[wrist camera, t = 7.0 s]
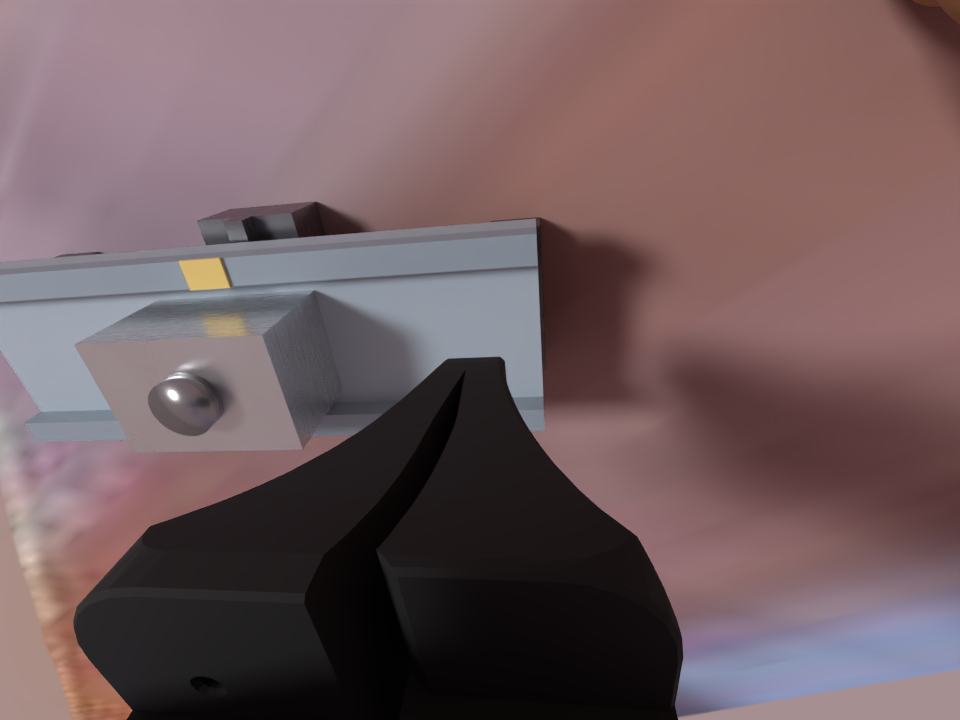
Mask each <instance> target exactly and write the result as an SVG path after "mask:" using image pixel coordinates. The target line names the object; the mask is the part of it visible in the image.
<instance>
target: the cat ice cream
mask: <svg viewBox="0 0 960 720" xmlns="http://www.w3.org/2000/svg"><path fill="white" fill-rule="evenodd" d="M912 1H913V2H916V3H918V4H921V5H925V6H932V7H941V8H942V9H943V10H944V12H945V13H946V14H947V15H949V16H950V17H951V18H952V19H953V20H954V21H956V22H957V23H958V24H960V0H912Z"/></svg>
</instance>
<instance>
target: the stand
mask: <svg viewBox="0 0 960 720" xmlns="http://www.w3.org/2000/svg"><path fill="white" fill-rule="evenodd" d="M526 219H536V233H537V257H538V281H539V304H540V328H541V352H542V368H546V363H545V332H544V306H543V280H542V253H541V227H540V217H539V218H526ZM513 220H525V219H513ZM501 221H512V220H501ZM197 222H198V225H199V228H200V230H201V233H202V235H203V238H204V241H205V243H206V245H217V244H229V243H242V242H254V241H266V240H278V239H291V238H303V237H315V236H325V235H324V231H323V227H322V223H321V219H320V216H319V212H318V208H317V204H316V202H307V203H296V204H285V205H274V206H263V207H251V208H240V209H230V210H227V211H224V212H221V213H218V214H215V215H213V216H210V217H207V218H204V219H201V220H198V221H197ZM491 222H500V221H491ZM94 254H99V252H92V253H79V254H66V255H60V256H57V257H69V256H81V255H94ZM57 257H54V258H57Z"/></svg>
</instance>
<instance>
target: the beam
mask: <svg viewBox="0 0 960 720" xmlns="http://www.w3.org/2000/svg"><path fill="white" fill-rule="evenodd" d="M303 290H315V293H316V297H317V300H318V304H319V307H320V311H321V314H322V318H323V321H324V325H325V329H326V332H327V336H328V339H329V343H330V346H331V350H332V353H333V357H334V360H335V364H336V367H337V371H338V375H339V378H340V382H341V385H342V389H343V390H342V391H341V393H340V394H339V396H338V397H337V399H336V400H335V402H334V403H333V405H332V406H331V408H330V409H329V411H328V412H327V414H326V415H325V417H324V418H323V420H322V421H321V423H320V425H319V426H318V428H317V429H316V431H315V432H314V434H313V435H312V436H332V435H355V434H356V433H358V432H359V431H361V430H362V429H364V428H365V427H367V426H368V425H369V424H371V423H372V422H373V421H375V420H376V419H377V418H379V417H380V416H381V415H382V414H384V413H385V412H386V411H387V410H389V409H390V408H391V407H393V406H394V405H395V404H396V403H398V402H399V401H400V400H401V399H403V398H404V397H405V396H406V395H407V394H408V393H409V392H411V391H412V390H413V389H414V388H415V387H416V386H417V385H419V384H420V383H421V382H422V381H423V380H424V379H425V378H426V377H427V376H428V375H430V374H431V373H432V372H433V371H434V370H435V369H436V368H437V367H438V366H439V365H441V364H442V363H443V362H444V361H445V360H447V359H449V358H475V357H501V358H502V359H503V360H504V361H505V367H506V378H507V385H508V388H509V390H510V393H511V395H512V397H513V400H514V402H515V405H516V407H517V409H518V411H519V413H520V414H521V416H522V418H523V420H524V422H525V423H526V425H527V427H528V428H529V430H530V431H545V424H544V399H543V375H542V352H541V328H540V304H539V281H538V257H537V233H536V219H525V220H512V221H500V222H488V223H476V224H463V225H451V226H439V227H426V228H414V229H402V230H389V231H377V232H365V233H352V234H340V235H328V236H315V237H303V238H291V239H278V240H266V241H254V242H242V243H229V244H217V245H205V246H192V247H180V248H168V249H155V250H143V251H131V252H118V253H106V254H94V255H81V256H69V257H57V258H44V259H32V260H20V261H7V262H0V350H1V352H2V353H3V355H4V356H5V358H6V359H7V361H8V362H9V364H10V365H11V367H12V368H13V370H14V371H15V373H16V374H17V376H18V377H19V379H20V380H21V382H22V383H23V385H24V386H25V388H26V389H27V391H28V392H29V394H30V395H31V397H32V398H33V400H34V401H35V403H36V404H37V406H38V407H39V409H40V410H41V412H40V413H39V414H37V415H36V416H34V417H32V418H31V419H29V420H28V421H26V422H25V423H23V424H24V426H25V427H26V428H27V430H28V431H29V433H30V434H31V436H32V437H33V438H34V440H35V441H36V442H42V441H90V440H128V438H127V436H126V434H125V433H124V431H123V429H122V427H121V426H120V424H119V422H118V420H117V419H116V417H115V415H114V414H113V412H112V410H111V408H110V407H109V405H108V403H107V401H106V400H105V398H104V396H103V394H102V393H101V391H100V389H99V387H98V386H97V384H96V382H95V381H94V379H93V377H92V375H91V374H90V372H89V370H88V368H87V367H86V365H85V363H84V361H83V360H82V358H81V356H80V355H79V353H78V351H77V349H76V348H75V346H74V344H76V343H78V342H80V341H82V340H83V339H85V338H87V337H89V336H91V335H93V334H95V333H97V332H99V331H100V330H102V329H104V328H106V327H108V326H110V325H112V324H114V323H116V322H117V321H119V320H121V319H123V318H125V317H127V316H129V315H131V314H133V313H134V312H136V311H138V310H140V309H142V308H144V307H146V306H148V305H150V304H151V303H153V302H155V301H157V300H161V299H177V298H192V297H208V296H224V295H240V294H256V293H271V292H287V291H303Z"/></svg>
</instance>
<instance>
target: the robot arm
mask: <svg viewBox="0 0 960 720" xmlns="http://www.w3.org/2000/svg"><path fill="white" fill-rule="evenodd" d="M73 622H74V630H75V634H76V637H77V641H78V644H79V646H80V647H81V648H82V650H83V651H84V653H85V654H86V656H87V657H88V659H89V660H90V661H91V662H92V664H93V665H94V666H95V667H96V668H97V669H98V670H99V672H100V673H101V674H102V675H103V676H104V677H105V679H106V680H107V681H108V682H109V683H110V684H111V685H112V687H113V688H114V689H115V690H116V691H117V692H118V694H119V695H120V696H121V697H122V698H123V699H124V701H125V702H126V703H127V704H128V705H129V706H130V707H131V709H132V710H133V711H132V712H131V714H130V715H129V717H128V718H127V720H678V718H677V713H676V709H675V700H676V695H677V689H678V683H679V678H680V672H681V666H682V661H683V647H682V636H681V632H680V629H679V626H678V622H677V619H676V617H675V614H674V611H673V609H672V606H671V604H670V601H669V599H668V596H667V594H666V592H665V589H664V587H663V585H662V583H661V581H660V579H659V577H658V575H657V573H656V571H655V568H654V566H653V564H652V563H651V561H650V559H649V557H648V555H647V553H646V552H645V550H644V548H643V546H642V544H641V542H640V541H639V539H638V537H637V536H636V535H634V534H633V533H632V532H631V531H629V530H628V529H626V528H625V527H624V526H622V525H621V524H620V523H618V522H617V521H616V520H614V519H613V518H612V517H610V516H609V515H608V514H606V513H605V512H604V511H602V510H601V509H600V508H599V507H597V506H596V505H595V504H594V503H593V502H592V501H591V500H590V499H589V498H587V497H586V496H585V495H584V494H583V493H582V492H581V491H580V490H579V489H578V488H577V487H576V486H575V485H574V484H573V483H572V482H571V481H570V480H569V479H568V478H567V477H566V476H565V475H564V473H563V472H562V471H561V470H560V469H559V468H558V467H557V466H556V465H555V464H554V463H553V462H552V460H551V459H550V458H549V456H548V455H547V454H546V453H545V451H544V450H543V449H542V448H541V446H540V445H539V443H538V442H537V441H536V439H535V438H534V436H533V435H532V433H531V432H530V430H529V428H528V427H527V425H526V423H525V422H524V420H523V418H522V416H521V414H520V413H519V411H518V409H517V407H516V405H515V402H514V400H513V397H512V395H511V393H510V390H509V388H508V385H507V378H506V367H505V361H504V360H503V359H502V358H501V357H475V358H449V359H447V360H445V361H444V362H443V363H442V364H441V365H439V366H438V367H437V368H436V369H435V370H434V371H433V372H432V373H431V374H430V375H428V376H427V377H426V378H425V379H424V380H423V381H422V382H421V383H420V384H419V385H417V386H416V387H415V388H414V389H413V390H412V391H411V392H409V393H408V394H407V395H406V396H405V397H404V398H403V399H401V400H400V401H399V402H398V403H396V404H395V405H394V406H393V407H391V408H390V409H389V410H387V411H386V412H385V413H384V414H382V415H381V416H380V417H379V418H377V419H376V420H375V421H373V422H372V423H371V424H369V425H368V426H367V427H365V428H364V429H362V430H361V431H359V432H358V433H356V434H355V435H353V436H352V437H350V438H348V439H347V440H345V441H344V442H342V443H341V444H339V445H337V446H336V447H334V448H332V449H331V450H329V451H327V452H325V453H323V454H322V455H320V456H318V457H316V458H314V459H312V460H310V461H308V462H307V463H305V464H303V465H301V466H299V467H297V468H295V469H294V470H292V471H290V472H288V473H286V474H284V475H281V476H279V477H277V478H275V479H273V480H271V481H268V482H266V483H264V484H262V485H260V486H257V487H255V488H253V489H250V490H248V491H245V492H243V493H241V494H238V495H236V496H233V497H231V498H228V499H226V500H223V501H221V502H218V503H215V504H213V505H210V506H207V507H204V508H201V509H199V510H196V511H193V512H190V513H187V514H185V515H182V516H179V517H176V518H173V519H171V520H168V521H165V522H162V523H159V524H156V525H152V526H150V527H149V528H148V529H147V530H146V532H145V533H144V534H143V535H142V536H141V537H140V538H139V539H138V540H137V541H136V542H135V544H134V545H133V546H132V547H131V548H130V549H129V550H128V551H127V552H126V553H125V555H124V556H123V557H122V558H121V559H120V560H119V561H118V562H117V563H116V564H115V565H114V567H113V568H112V569H111V570H110V571H109V572H108V573H107V574H106V575H105V576H104V578H103V579H102V580H101V581H100V582H99V583H98V584H97V585H96V586H95V587H94V588H93V590H92V591H91V592H90V593H89V594H88V595H87V596H86V597H85V598H84V599H83V601H82V602H81V603H80V604H79V605H78V606H77V608H76V612H75V616H74V620H73Z"/></svg>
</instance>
